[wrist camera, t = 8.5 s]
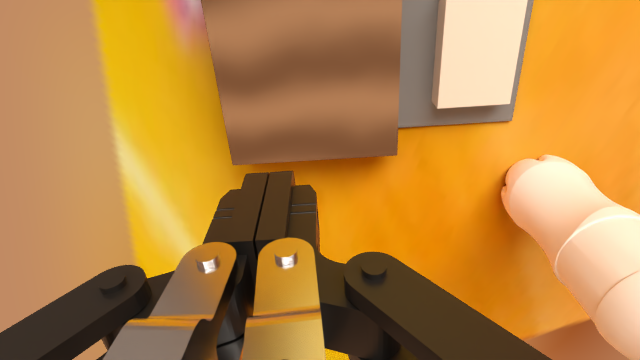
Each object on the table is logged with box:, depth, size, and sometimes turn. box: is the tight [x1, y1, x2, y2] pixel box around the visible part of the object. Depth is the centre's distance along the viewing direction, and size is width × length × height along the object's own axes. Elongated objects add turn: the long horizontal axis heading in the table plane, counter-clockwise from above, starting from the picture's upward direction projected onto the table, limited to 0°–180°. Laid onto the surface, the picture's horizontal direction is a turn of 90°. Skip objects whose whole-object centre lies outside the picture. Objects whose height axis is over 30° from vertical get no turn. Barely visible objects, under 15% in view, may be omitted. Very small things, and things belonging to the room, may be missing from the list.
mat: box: [398, 0, 534, 128], centre depth 32 cm, size 15×11×1 cm
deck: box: [201, 0, 402, 165], centre depth 31 cm, size 16×14×4 cm
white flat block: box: [432, 0, 528, 109], centre depth 31 cm, size 9×6×2 cm, turn 4°
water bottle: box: [501, 155, 640, 360], centre depth 28 cm, size 7×7×25 cm
